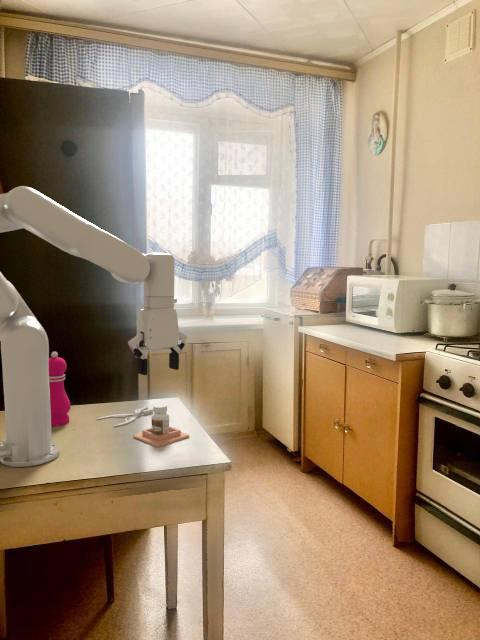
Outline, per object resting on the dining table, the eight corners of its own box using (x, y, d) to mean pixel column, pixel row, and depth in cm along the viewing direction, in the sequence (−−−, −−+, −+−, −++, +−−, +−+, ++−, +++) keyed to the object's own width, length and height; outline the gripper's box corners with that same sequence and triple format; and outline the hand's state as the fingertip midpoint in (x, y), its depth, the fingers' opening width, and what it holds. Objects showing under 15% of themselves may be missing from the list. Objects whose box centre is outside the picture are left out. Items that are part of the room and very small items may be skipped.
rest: (157, 447, 124) (157, 440, 124) (133, 437, 131) (133, 430, 131) (189, 437, 132) (189, 430, 131) (165, 428, 138) (165, 421, 138)
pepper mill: (37, 425, 141) (34, 353, 138) (55, 417, 147) (52, 348, 145) (60, 428, 138) (56, 354, 136) (76, 420, 145) (73, 350, 143)
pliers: (95, 415, 146) (140, 404, 156) (96, 420, 146) (140, 409, 156) (114, 423, 139) (160, 411, 149) (115, 428, 139) (160, 416, 150)
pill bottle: (148, 436, 130) (147, 406, 129) (159, 431, 134) (159, 402, 133) (161, 439, 128) (161, 409, 127) (172, 434, 132) (172, 404, 131)
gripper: (176, 301, 136) (176, 364, 138) (120, 303, 124) (120, 374, 126) (195, 303, 131) (194, 369, 133) (138, 306, 119) (138, 379, 120)
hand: (158, 371), depth 129 cm, fingers open, 9 cm apart
